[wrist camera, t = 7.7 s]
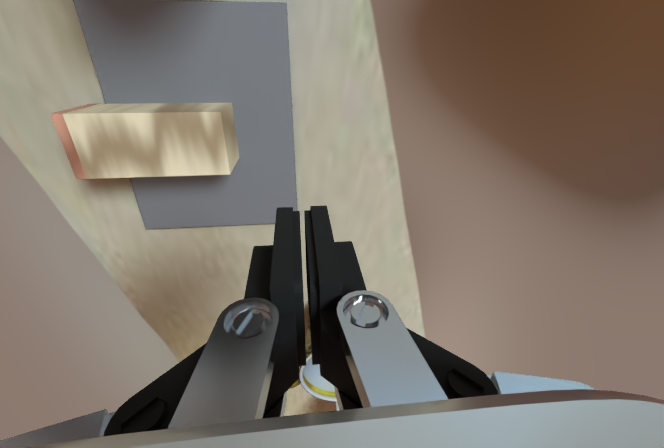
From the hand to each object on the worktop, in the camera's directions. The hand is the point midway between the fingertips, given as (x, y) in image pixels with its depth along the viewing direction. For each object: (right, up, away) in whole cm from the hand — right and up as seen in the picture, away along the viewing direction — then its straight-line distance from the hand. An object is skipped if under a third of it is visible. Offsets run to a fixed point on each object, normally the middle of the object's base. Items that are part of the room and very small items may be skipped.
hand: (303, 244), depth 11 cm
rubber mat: (-11, +10, +19) cm, 24 cm away
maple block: (-8, +8, +16) cm, 20 cm away
